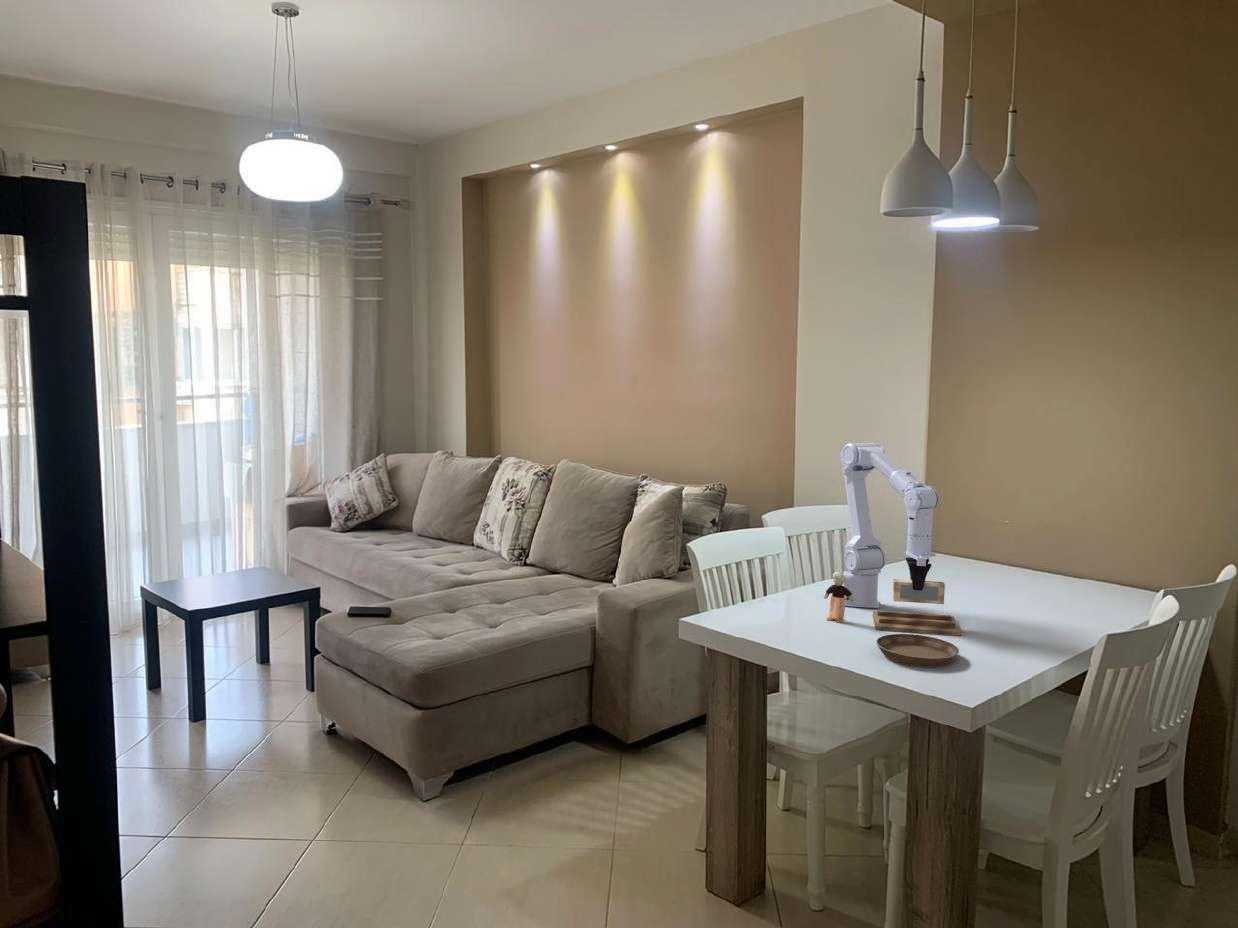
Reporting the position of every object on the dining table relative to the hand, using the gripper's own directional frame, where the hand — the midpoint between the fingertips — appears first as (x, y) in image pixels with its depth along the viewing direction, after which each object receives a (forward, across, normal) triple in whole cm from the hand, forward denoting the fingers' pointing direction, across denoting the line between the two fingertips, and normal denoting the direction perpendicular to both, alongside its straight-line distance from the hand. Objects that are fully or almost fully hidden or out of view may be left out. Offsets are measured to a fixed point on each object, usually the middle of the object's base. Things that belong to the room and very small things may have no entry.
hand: (917, 588), depth 228 cm
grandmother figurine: (+10, -1, +19) cm, 21 cm away
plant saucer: (+10, -26, +2) cm, 28 cm away
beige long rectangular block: (+3, 0, 0) cm, 3 cm away
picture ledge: (+9, 0, 0) cm, 9 cm away
